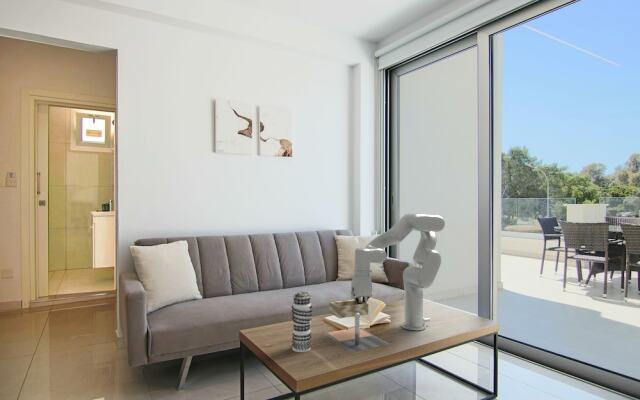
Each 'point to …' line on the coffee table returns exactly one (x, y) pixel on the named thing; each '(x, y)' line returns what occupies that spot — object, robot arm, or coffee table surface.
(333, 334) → the pin stand
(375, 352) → the coffee table surface
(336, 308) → the open wooden box
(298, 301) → the decorative candle
